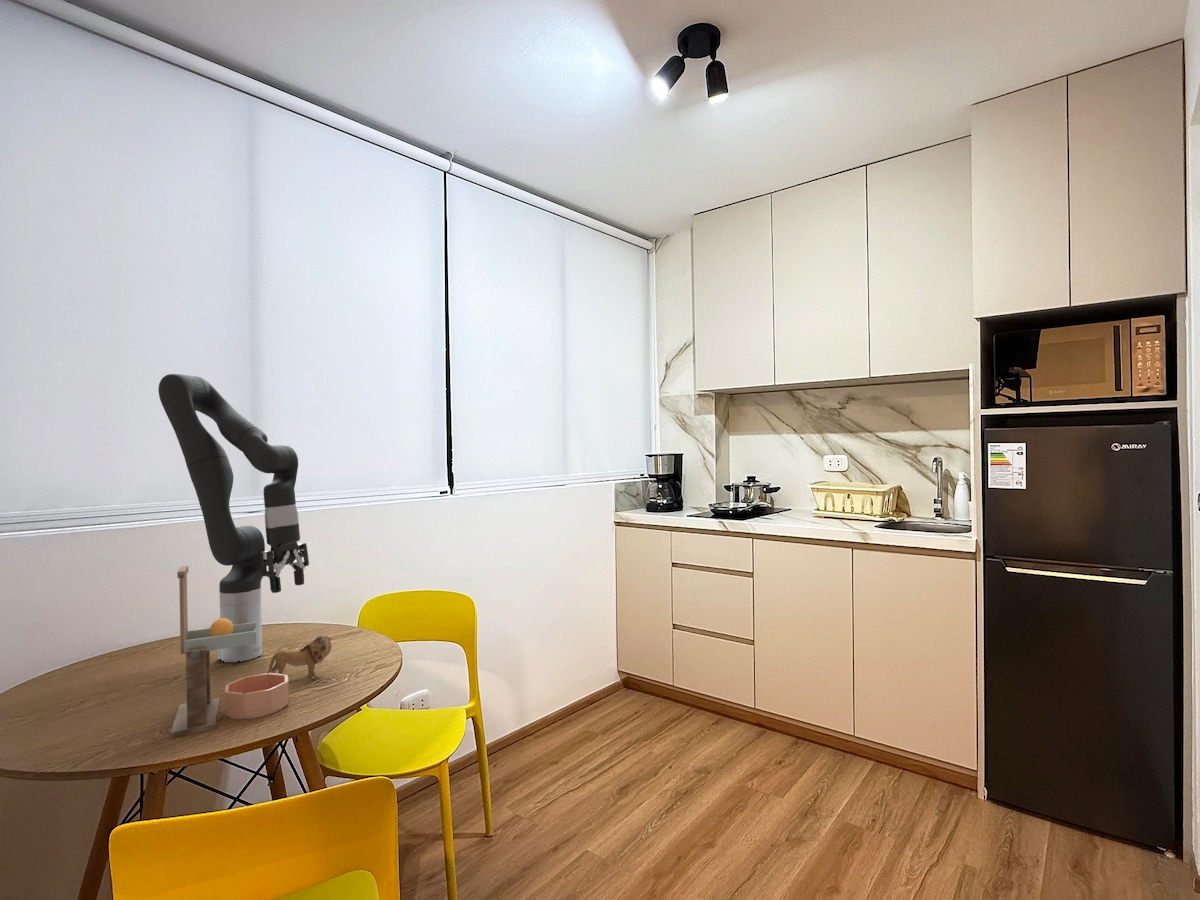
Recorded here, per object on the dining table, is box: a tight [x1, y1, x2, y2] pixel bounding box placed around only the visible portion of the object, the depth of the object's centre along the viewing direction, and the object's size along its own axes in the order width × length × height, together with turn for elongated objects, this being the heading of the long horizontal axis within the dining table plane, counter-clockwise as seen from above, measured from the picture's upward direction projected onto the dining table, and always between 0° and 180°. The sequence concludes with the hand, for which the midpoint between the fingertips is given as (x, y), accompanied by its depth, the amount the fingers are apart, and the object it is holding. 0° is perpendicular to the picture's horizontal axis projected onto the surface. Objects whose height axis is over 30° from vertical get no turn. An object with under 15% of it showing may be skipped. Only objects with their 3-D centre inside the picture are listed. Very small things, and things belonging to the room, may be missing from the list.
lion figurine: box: [267, 634, 333, 678], centre depth 147 cm, size 15×5×9 cm, turn 116°
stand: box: [170, 647, 221, 739], centre depth 124 cm, size 7×15×15 cm, turn 28°
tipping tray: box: [176, 565, 256, 655], centre depth 126 cm, size 13×8×16 cm, turn 118°
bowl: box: [224, 672, 290, 720], centre depth 129 cm, size 11×11×5 cm
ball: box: [209, 618, 233, 637], centre depth 126 cm, size 4×4×4 cm
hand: (288, 588), depth 159 cm, fingers open, 8 cm apart
